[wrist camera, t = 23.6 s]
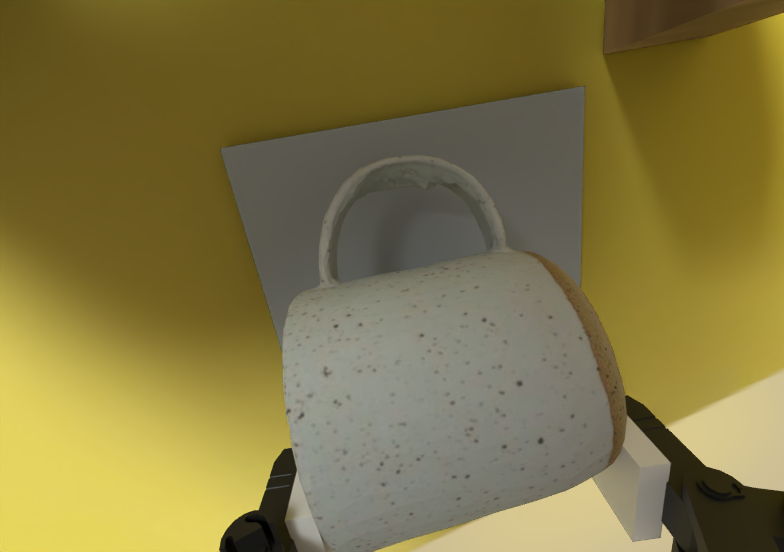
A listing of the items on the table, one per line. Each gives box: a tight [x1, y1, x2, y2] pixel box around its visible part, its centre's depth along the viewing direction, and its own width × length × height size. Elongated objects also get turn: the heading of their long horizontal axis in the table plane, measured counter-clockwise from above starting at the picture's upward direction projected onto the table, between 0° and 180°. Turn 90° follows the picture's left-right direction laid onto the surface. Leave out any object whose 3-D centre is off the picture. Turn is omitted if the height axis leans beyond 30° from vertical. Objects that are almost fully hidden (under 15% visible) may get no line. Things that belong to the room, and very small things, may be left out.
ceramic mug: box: [282, 155, 627, 552], centre depth 11 cm, size 11×8×8 cm
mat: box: [220, 86, 585, 353], centre depth 17 cm, size 14×14×1 cm
